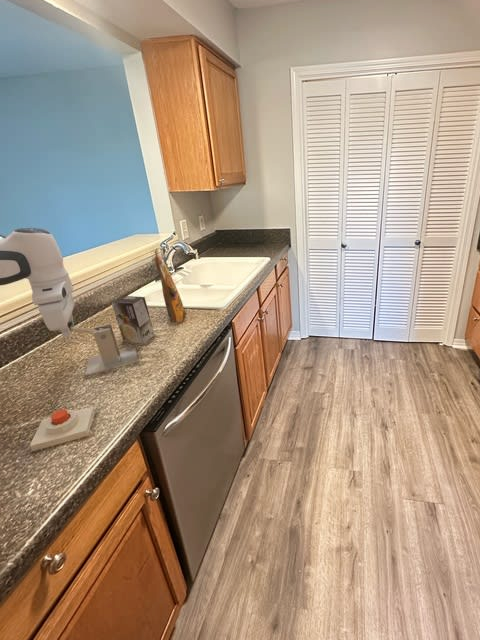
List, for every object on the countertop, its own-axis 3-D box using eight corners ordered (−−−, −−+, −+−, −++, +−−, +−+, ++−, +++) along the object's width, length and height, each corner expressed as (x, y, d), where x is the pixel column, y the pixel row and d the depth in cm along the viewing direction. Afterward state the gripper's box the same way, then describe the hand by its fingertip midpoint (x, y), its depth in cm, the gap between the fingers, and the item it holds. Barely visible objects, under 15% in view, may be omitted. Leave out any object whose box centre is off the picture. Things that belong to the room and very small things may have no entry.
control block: (32, 451, 72) (26, 440, 70) (44, 424, 79) (39, 413, 78) (88, 436, 75) (83, 424, 74) (95, 411, 83) (91, 400, 81)
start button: (51, 426, 74) (48, 420, 73) (55, 417, 77) (52, 411, 76) (67, 422, 75) (65, 416, 74) (71, 413, 78) (68, 407, 77)
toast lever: (63, 335, 92) (64, 327, 92) (66, 328, 96) (67, 321, 96) (107, 340, 98) (109, 333, 98) (108, 333, 102) (110, 327, 102)
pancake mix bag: (165, 328, 125) (147, 258, 114) (169, 309, 142) (154, 246, 131) (183, 325, 126) (168, 255, 115) (185, 307, 143) (172, 244, 132)
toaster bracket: (86, 379, 96) (72, 341, 91) (90, 361, 105) (77, 326, 100) (137, 365, 102) (127, 329, 97) (136, 349, 111) (127, 316, 106)
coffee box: (156, 336, 119) (146, 296, 112) (144, 345, 113) (133, 303, 107) (135, 335, 121) (123, 295, 115) (122, 343, 115) (110, 302, 109)
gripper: (46, 279, 97) (62, 320, 102) (30, 301, 80) (49, 349, 85) (71, 275, 99) (85, 316, 105) (60, 296, 82) (77, 343, 88)
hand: (69, 331), depth 95 cm, fingers closed on toast lever, 5 cm apart
